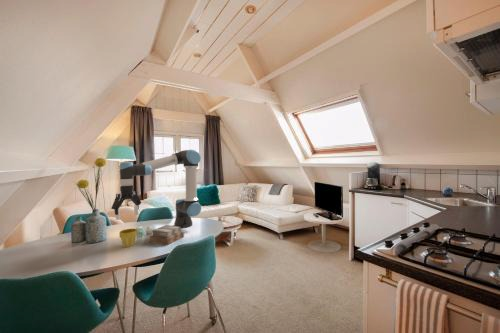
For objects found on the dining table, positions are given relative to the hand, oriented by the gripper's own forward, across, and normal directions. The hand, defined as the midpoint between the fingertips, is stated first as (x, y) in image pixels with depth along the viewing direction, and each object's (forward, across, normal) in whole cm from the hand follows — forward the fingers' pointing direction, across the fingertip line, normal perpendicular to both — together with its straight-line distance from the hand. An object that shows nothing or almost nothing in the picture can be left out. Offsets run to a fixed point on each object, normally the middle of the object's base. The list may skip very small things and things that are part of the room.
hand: (127, 217), depth 148 cm
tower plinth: (+19, -17, +17) cm, 31 cm away
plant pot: (+19, 0, 0) cm, 19 cm away
